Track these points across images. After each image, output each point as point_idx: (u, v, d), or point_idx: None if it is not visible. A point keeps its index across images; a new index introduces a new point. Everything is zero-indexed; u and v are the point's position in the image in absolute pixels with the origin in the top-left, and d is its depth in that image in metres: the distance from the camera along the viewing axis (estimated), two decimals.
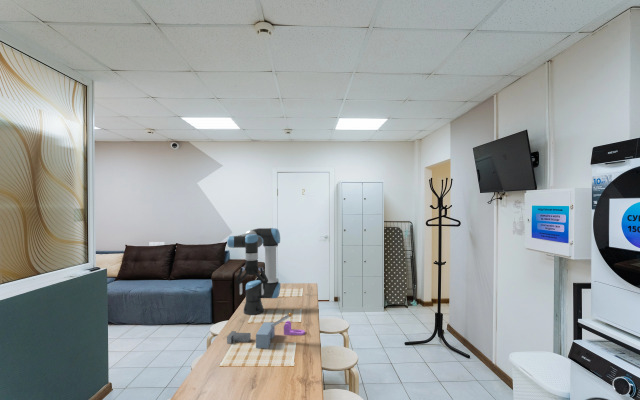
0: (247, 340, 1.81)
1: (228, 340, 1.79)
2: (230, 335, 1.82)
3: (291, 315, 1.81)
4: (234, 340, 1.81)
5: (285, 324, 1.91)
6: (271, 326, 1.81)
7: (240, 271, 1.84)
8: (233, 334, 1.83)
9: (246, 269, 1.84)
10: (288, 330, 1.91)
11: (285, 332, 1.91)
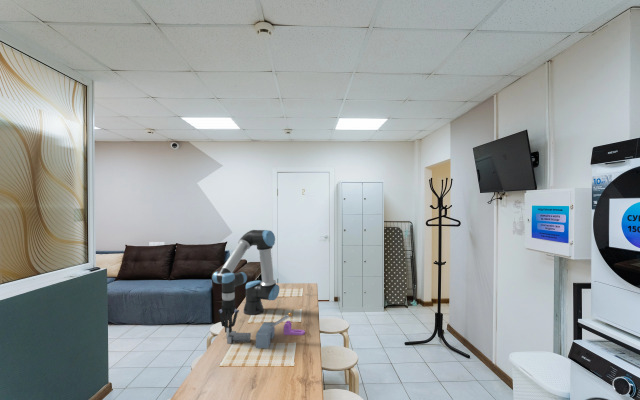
0: (247, 340, 1.81)
1: (228, 340, 1.79)
2: (230, 335, 1.82)
3: (291, 315, 1.81)
4: (234, 340, 1.81)
5: (285, 324, 1.91)
6: (271, 326, 1.81)
7: (219, 314, 1.83)
8: (233, 334, 1.83)
9: (223, 308, 1.83)
10: (288, 330, 1.91)
11: (285, 332, 1.91)
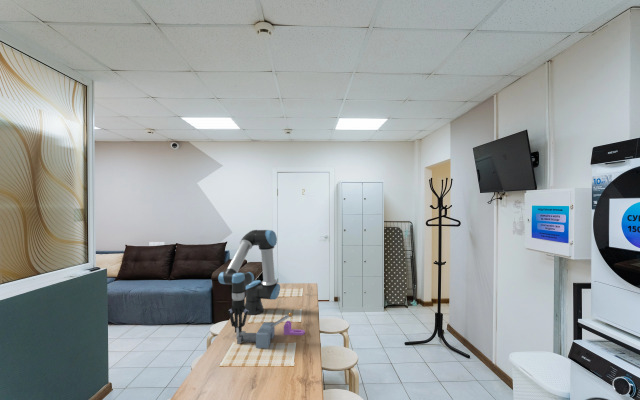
0: None
1: (238, 340, 1.79)
2: (240, 335, 1.81)
3: (291, 315, 1.81)
4: (244, 340, 1.81)
5: (285, 324, 1.91)
6: (271, 326, 1.81)
7: (229, 314, 1.83)
8: (243, 334, 1.82)
9: (233, 309, 1.83)
10: (288, 330, 1.91)
11: (285, 332, 1.91)
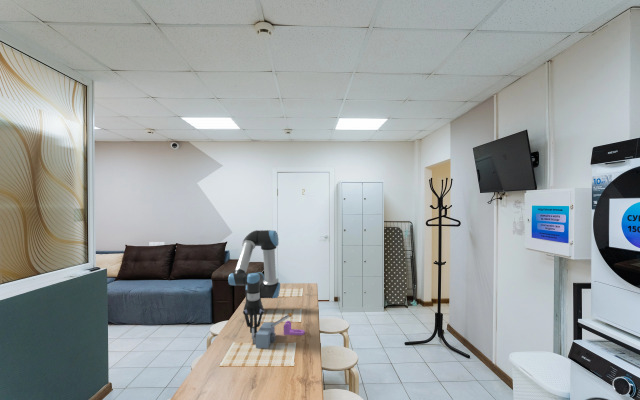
0: (273, 340, 1.80)
1: (254, 340, 1.78)
2: (255, 335, 1.80)
3: (291, 315, 1.81)
4: None
5: (285, 324, 1.91)
6: (271, 326, 1.81)
7: (244, 314, 1.82)
8: None
9: (248, 309, 1.82)
10: (288, 330, 1.91)
11: (285, 332, 1.91)
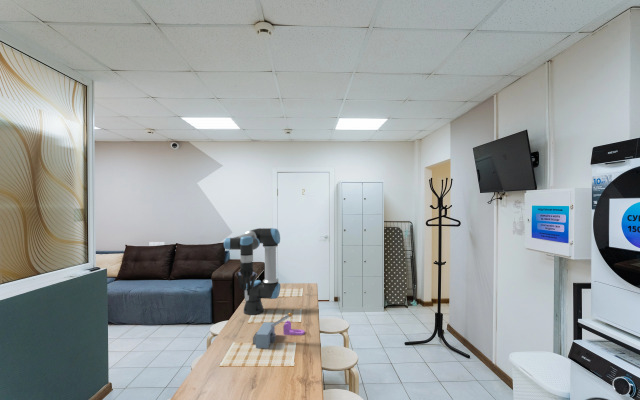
0: (273, 341, 1.80)
1: (254, 341, 1.78)
2: None
3: (291, 315, 1.81)
4: None
5: (285, 324, 1.91)
6: (271, 326, 1.81)
7: (238, 276, 1.83)
8: None
9: (241, 271, 1.83)
10: (288, 330, 1.91)
11: (285, 332, 1.91)
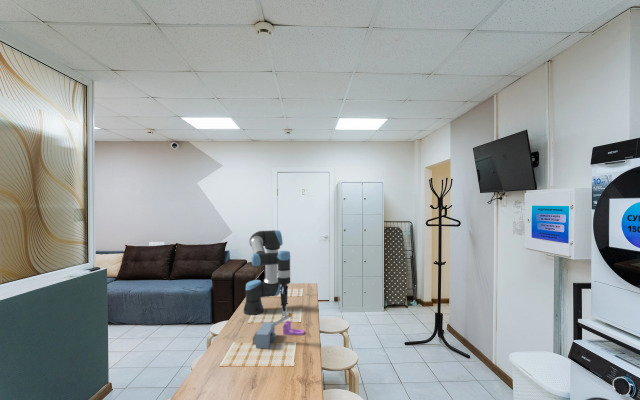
0: (273, 341, 1.80)
1: (254, 341, 1.78)
2: None
3: (291, 315, 1.81)
4: None
5: (284, 324, 1.91)
6: (271, 326, 1.81)
7: None
8: None
9: None
10: (287, 330, 1.91)
11: (284, 332, 1.91)
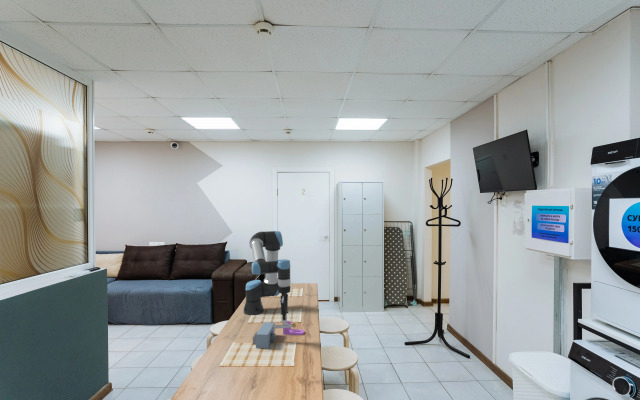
0: (273, 341, 1.80)
1: (254, 341, 1.78)
2: None
3: (295, 326, 1.81)
4: None
5: None
6: (272, 327, 1.81)
7: None
8: None
9: None
10: (287, 330, 1.91)
11: (284, 332, 1.91)
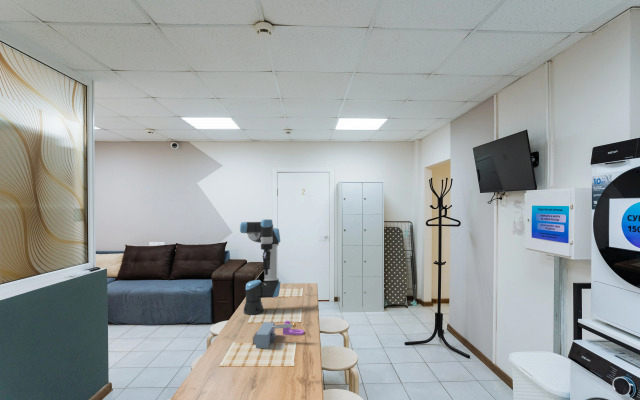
0: (273, 341, 1.80)
1: (254, 341, 1.78)
2: None
3: (295, 326, 1.81)
4: None
5: None
6: (272, 327, 1.81)
7: None
8: None
9: None
10: (287, 330, 1.91)
11: (284, 332, 1.91)
